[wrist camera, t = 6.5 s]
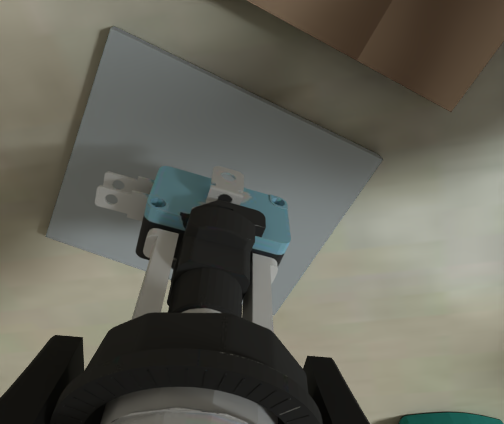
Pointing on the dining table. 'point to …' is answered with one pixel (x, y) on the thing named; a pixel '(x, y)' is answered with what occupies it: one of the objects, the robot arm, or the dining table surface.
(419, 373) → the dining table surface
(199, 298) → the push button
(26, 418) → the robot arm
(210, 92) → the rubber mat
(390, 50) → the brown flat rectangular frame
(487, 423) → the digital multimeter
